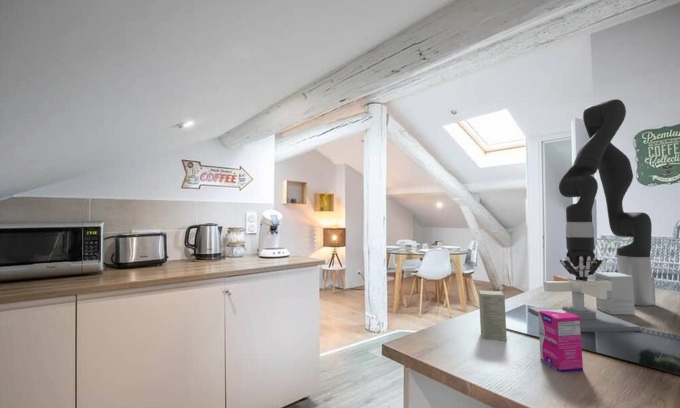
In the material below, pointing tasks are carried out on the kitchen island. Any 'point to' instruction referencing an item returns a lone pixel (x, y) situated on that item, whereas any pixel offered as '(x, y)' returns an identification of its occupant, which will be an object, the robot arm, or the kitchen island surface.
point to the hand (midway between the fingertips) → (581, 287)
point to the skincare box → (492, 315)
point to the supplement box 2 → (617, 294)
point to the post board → (597, 322)
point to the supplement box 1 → (560, 340)
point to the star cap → (579, 286)
